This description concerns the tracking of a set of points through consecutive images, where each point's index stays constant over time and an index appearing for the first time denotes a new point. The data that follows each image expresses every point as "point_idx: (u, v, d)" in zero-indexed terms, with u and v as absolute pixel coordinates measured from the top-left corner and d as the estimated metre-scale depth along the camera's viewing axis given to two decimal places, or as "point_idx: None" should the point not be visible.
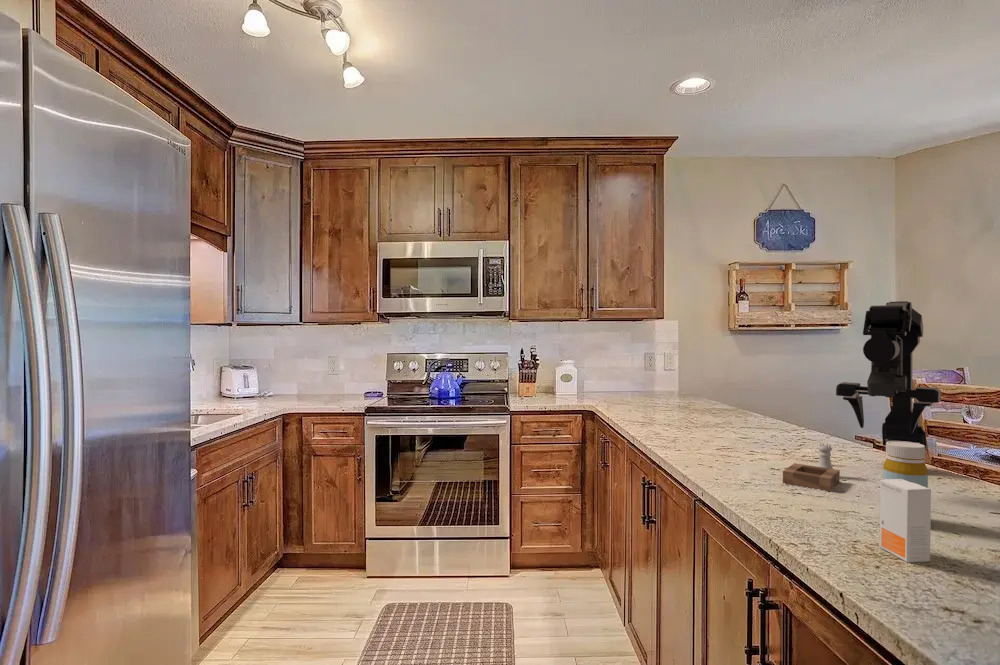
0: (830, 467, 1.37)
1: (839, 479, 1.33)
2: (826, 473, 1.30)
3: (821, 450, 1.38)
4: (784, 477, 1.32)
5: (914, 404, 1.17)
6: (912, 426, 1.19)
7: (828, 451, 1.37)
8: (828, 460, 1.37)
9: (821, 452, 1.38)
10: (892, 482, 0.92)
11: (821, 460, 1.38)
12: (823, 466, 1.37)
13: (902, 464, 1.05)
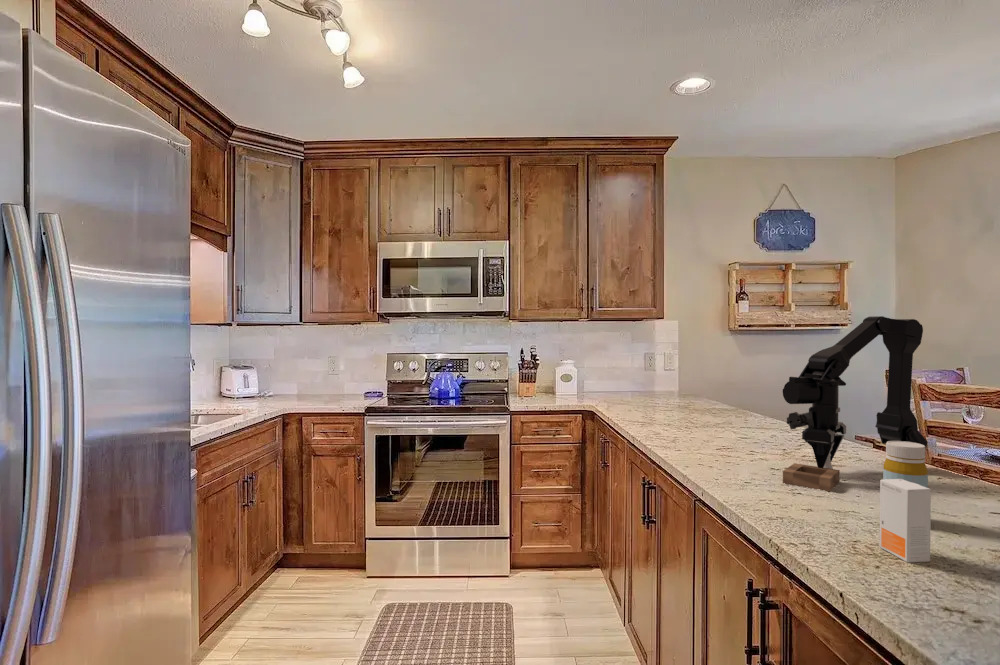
0: (830, 467, 1.37)
1: (839, 479, 1.33)
2: (826, 473, 1.30)
3: None
4: (784, 477, 1.32)
5: None
6: None
7: None
8: (828, 460, 1.37)
9: None
10: (892, 482, 0.92)
11: None
12: None
13: (902, 464, 1.05)
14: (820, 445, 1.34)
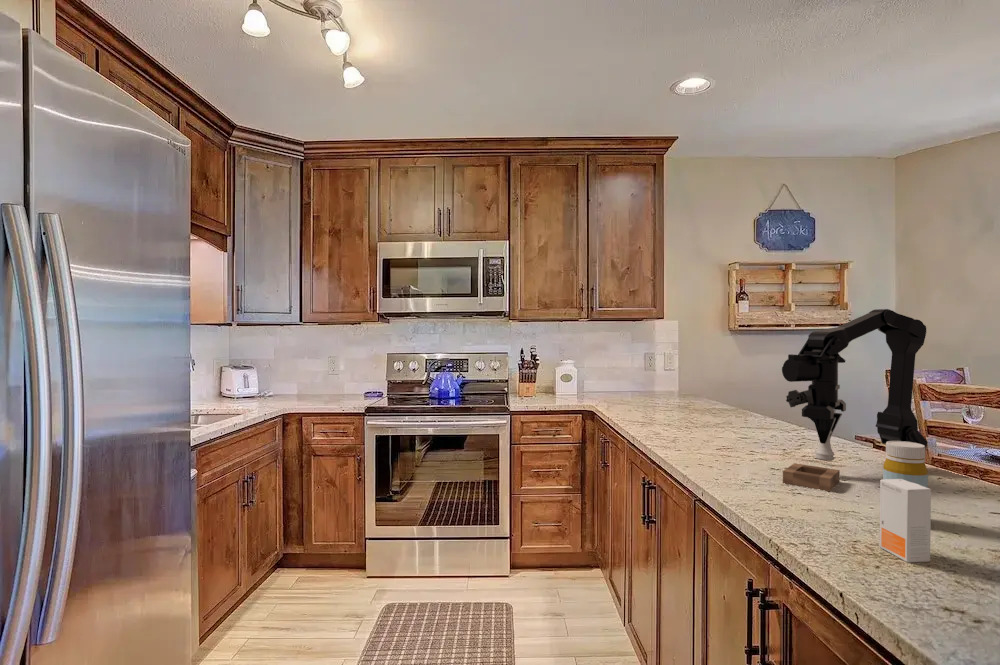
0: (830, 450, 1.37)
1: (839, 479, 1.33)
2: (826, 473, 1.30)
3: None
4: (784, 477, 1.32)
5: None
6: None
7: None
8: (828, 443, 1.37)
9: None
10: (892, 482, 0.92)
11: None
12: (823, 449, 1.37)
13: (902, 464, 1.05)
14: (822, 421, 1.36)
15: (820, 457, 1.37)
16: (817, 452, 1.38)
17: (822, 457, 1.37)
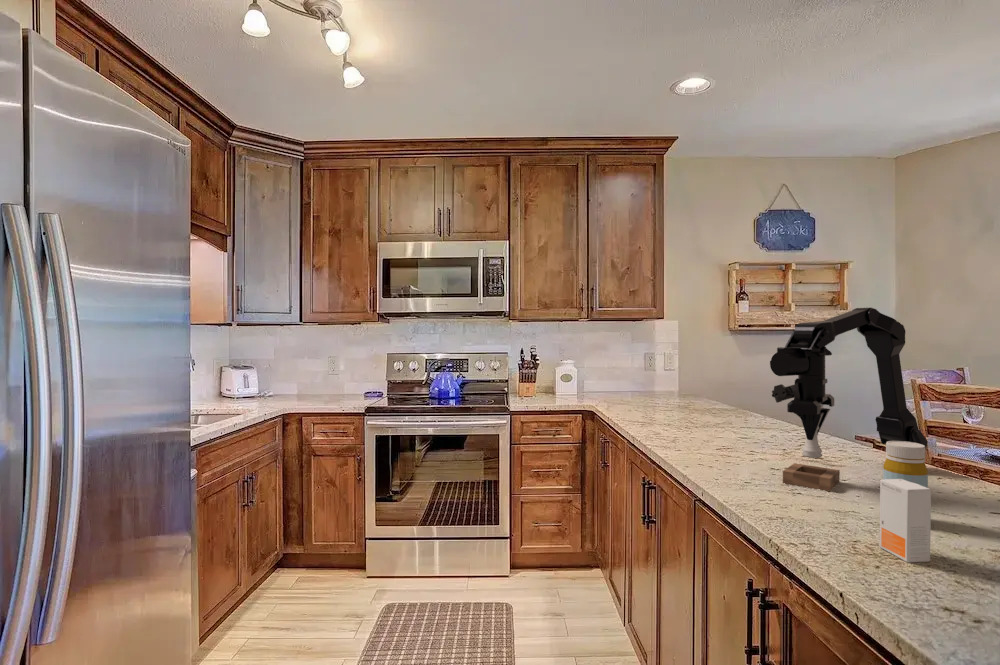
0: (817, 446, 1.31)
1: (839, 479, 1.33)
2: (826, 473, 1.30)
3: None
4: (784, 477, 1.32)
5: None
6: None
7: None
8: (815, 439, 1.31)
9: None
10: (892, 482, 0.92)
11: None
12: (810, 446, 1.31)
13: (902, 464, 1.05)
14: (809, 416, 1.30)
15: (807, 454, 1.31)
16: (804, 449, 1.32)
17: (809, 454, 1.31)
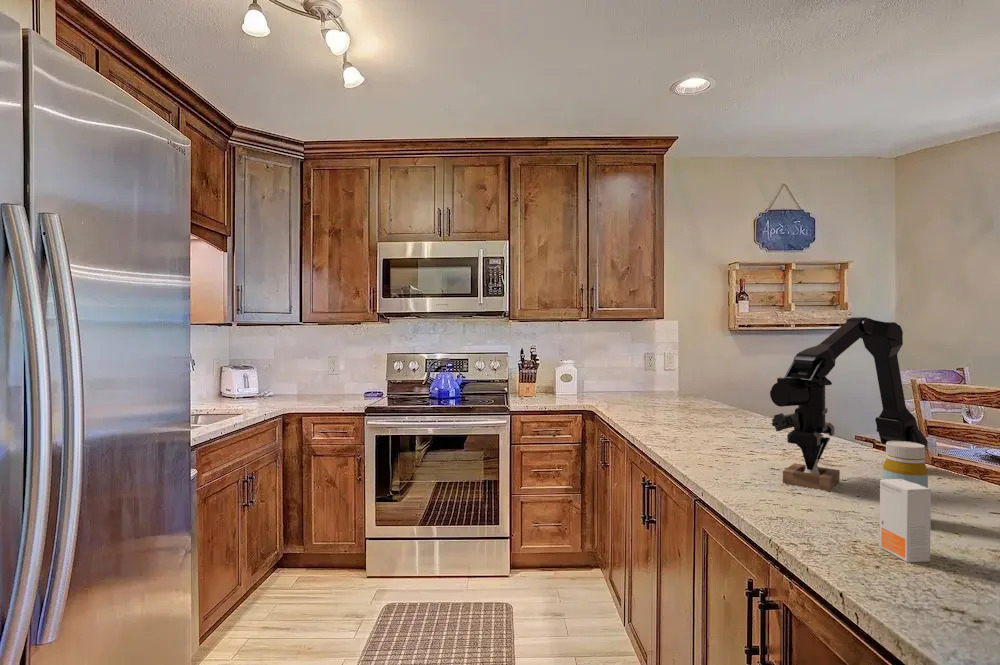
0: (817, 473, 1.31)
1: (839, 479, 1.33)
2: (826, 473, 1.30)
3: None
4: (784, 477, 1.32)
5: None
6: None
7: None
8: (815, 466, 1.31)
9: None
10: (892, 482, 0.92)
11: None
12: (810, 472, 1.31)
13: (902, 464, 1.05)
14: (809, 446, 1.30)
15: None
16: None
17: None
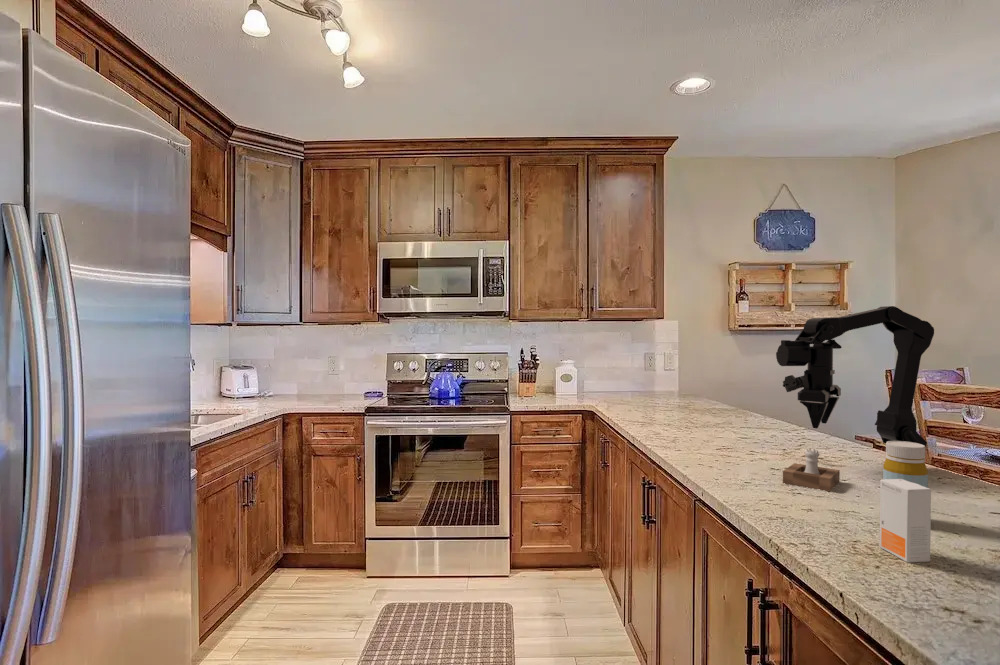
0: (817, 473, 1.31)
1: (839, 479, 1.33)
2: (826, 473, 1.30)
3: (808, 456, 1.32)
4: (784, 477, 1.32)
5: None
6: None
7: (815, 457, 1.31)
8: (815, 466, 1.31)
9: (808, 458, 1.32)
10: (892, 482, 0.92)
11: (808, 466, 1.32)
12: (810, 472, 1.31)
13: (902, 464, 1.05)
14: (815, 406, 1.38)
15: None
16: None
17: None
